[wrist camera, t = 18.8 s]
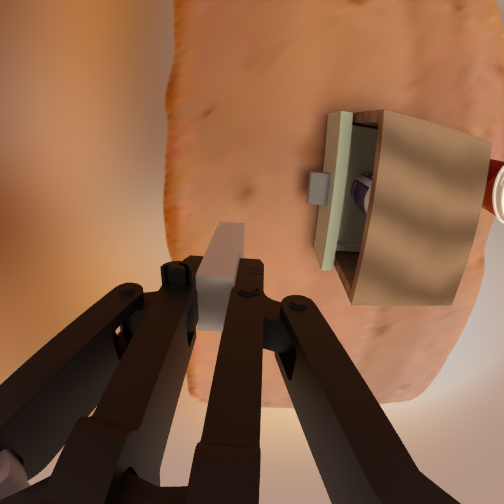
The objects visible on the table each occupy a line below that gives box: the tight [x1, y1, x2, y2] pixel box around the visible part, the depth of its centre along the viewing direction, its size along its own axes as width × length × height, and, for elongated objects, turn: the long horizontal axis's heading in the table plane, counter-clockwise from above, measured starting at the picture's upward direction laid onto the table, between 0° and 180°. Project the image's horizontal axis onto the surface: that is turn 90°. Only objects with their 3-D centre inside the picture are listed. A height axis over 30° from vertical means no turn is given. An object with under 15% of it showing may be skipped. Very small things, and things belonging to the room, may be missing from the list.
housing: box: [334, 110, 492, 306], centre depth 33 cm, size 20×14×15 cm
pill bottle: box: [350, 172, 373, 215], centre depth 33 cm, size 5×5×10 cm
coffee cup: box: [482, 159, 504, 224], centre depth 31 cm, size 8×8×15 cm
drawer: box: [307, 111, 378, 271], centre depth 36 cm, size 20×16×7 cm
